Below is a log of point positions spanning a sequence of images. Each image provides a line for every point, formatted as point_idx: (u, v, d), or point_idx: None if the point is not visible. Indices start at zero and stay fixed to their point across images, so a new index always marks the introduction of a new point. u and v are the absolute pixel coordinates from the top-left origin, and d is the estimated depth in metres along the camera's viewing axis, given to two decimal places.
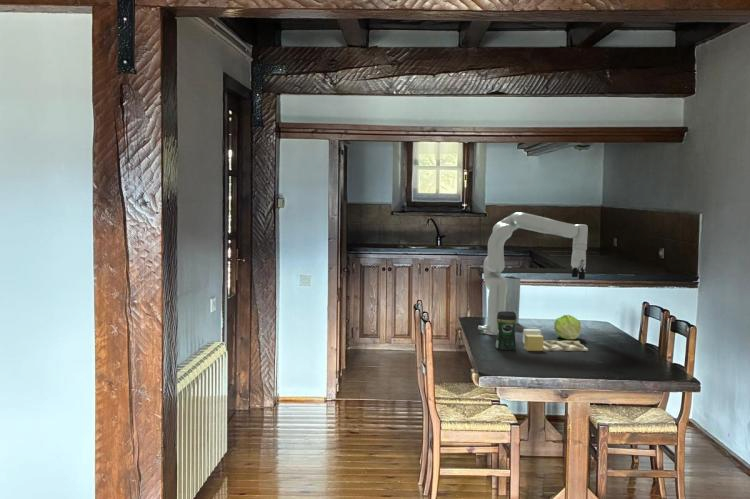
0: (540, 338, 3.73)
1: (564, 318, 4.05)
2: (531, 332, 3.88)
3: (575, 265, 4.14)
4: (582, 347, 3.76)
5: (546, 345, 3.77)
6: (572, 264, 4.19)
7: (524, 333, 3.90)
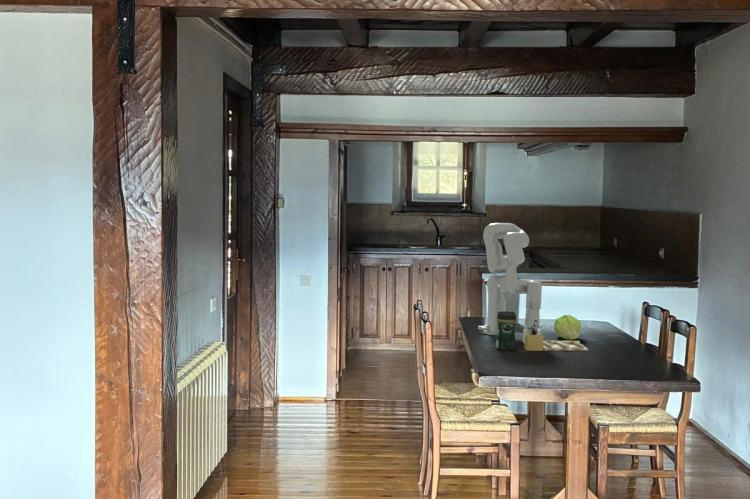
0: (540, 338, 3.73)
1: (564, 318, 4.05)
2: None
3: (528, 325, 3.88)
4: (582, 347, 3.76)
5: (546, 345, 3.77)
6: (525, 324, 3.92)
7: (524, 333, 3.90)
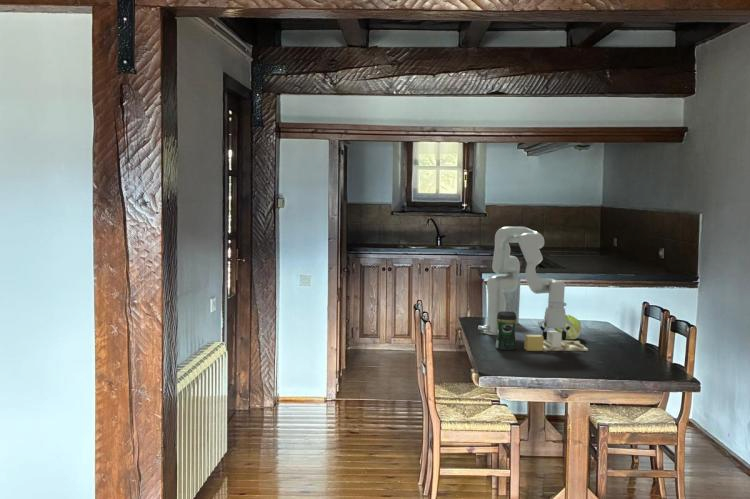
0: (540, 338, 3.73)
1: None
2: (549, 333, 3.80)
3: None
4: (582, 347, 3.76)
5: (546, 345, 3.77)
6: None
7: None
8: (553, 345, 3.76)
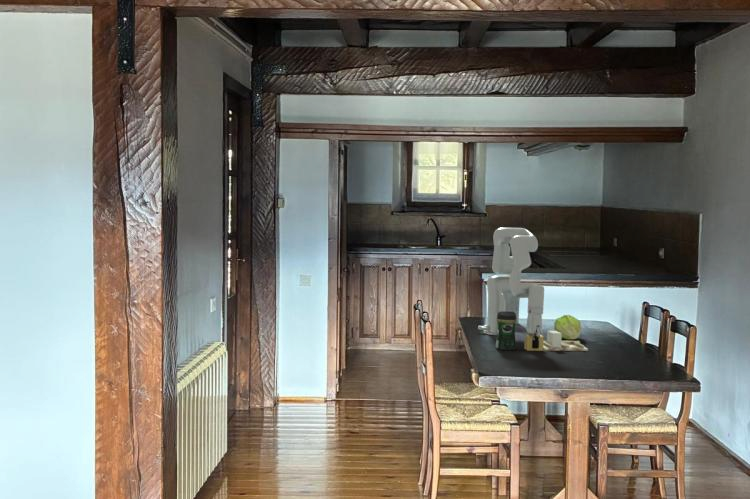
0: (540, 338, 3.73)
1: (564, 318, 4.05)
2: (549, 333, 3.80)
3: (530, 331, 3.72)
4: (582, 347, 3.76)
5: (546, 345, 3.77)
6: (527, 329, 3.76)
7: None
8: (553, 345, 3.76)
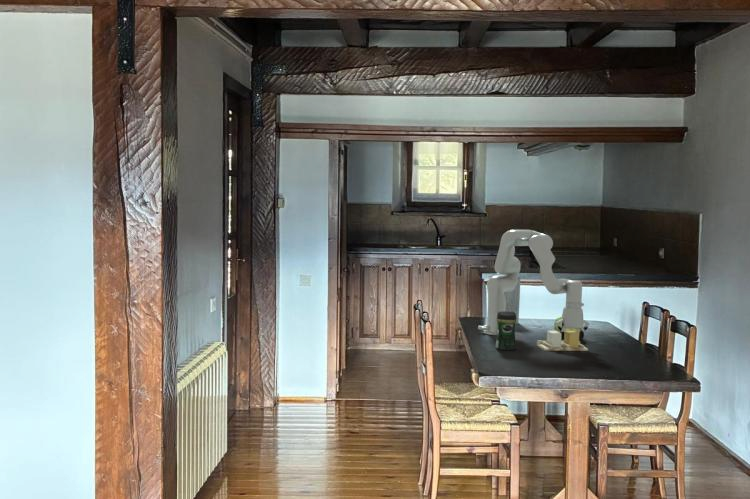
0: (569, 334, 3.78)
1: None
2: (549, 333, 3.80)
3: None
4: (582, 347, 3.76)
5: (546, 345, 3.77)
6: None
7: None
8: (553, 345, 3.76)
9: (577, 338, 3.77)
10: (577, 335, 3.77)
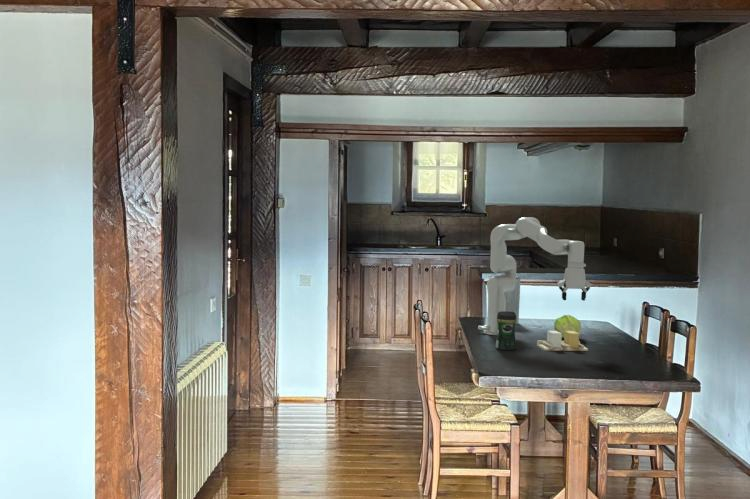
0: (569, 334, 3.78)
1: (564, 318, 4.05)
2: (549, 333, 3.80)
3: None
4: (582, 347, 3.76)
5: (546, 345, 3.77)
6: None
7: None
8: (553, 345, 3.76)
9: (577, 338, 3.77)
10: (577, 335, 3.77)
